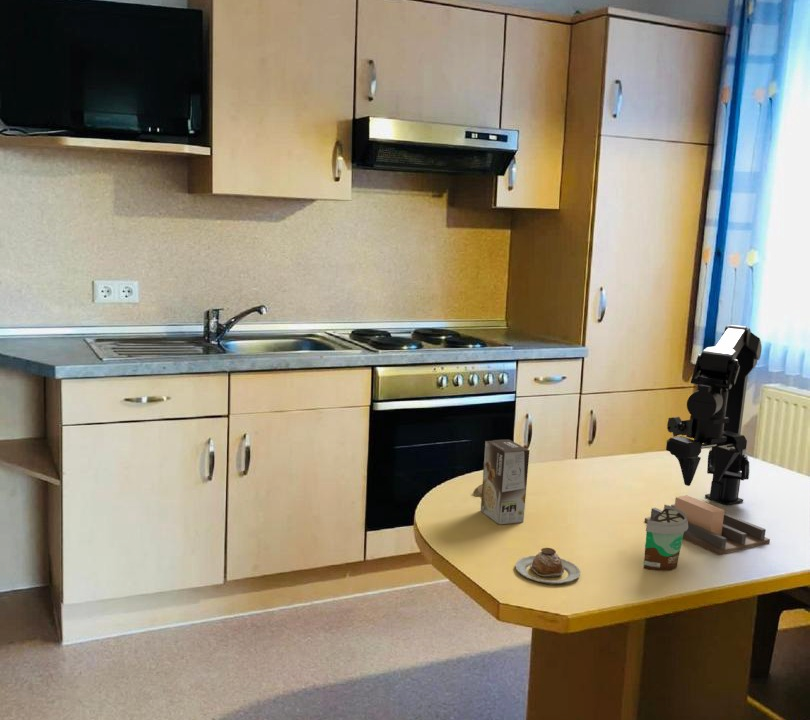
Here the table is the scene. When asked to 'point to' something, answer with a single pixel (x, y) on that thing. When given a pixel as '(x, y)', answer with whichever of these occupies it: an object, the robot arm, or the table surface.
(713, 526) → the terracotta strip
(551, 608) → the table surface
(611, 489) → the table surface
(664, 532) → the food container
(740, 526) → the ribbed brown panel
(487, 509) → the coffee box
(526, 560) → the pastry
